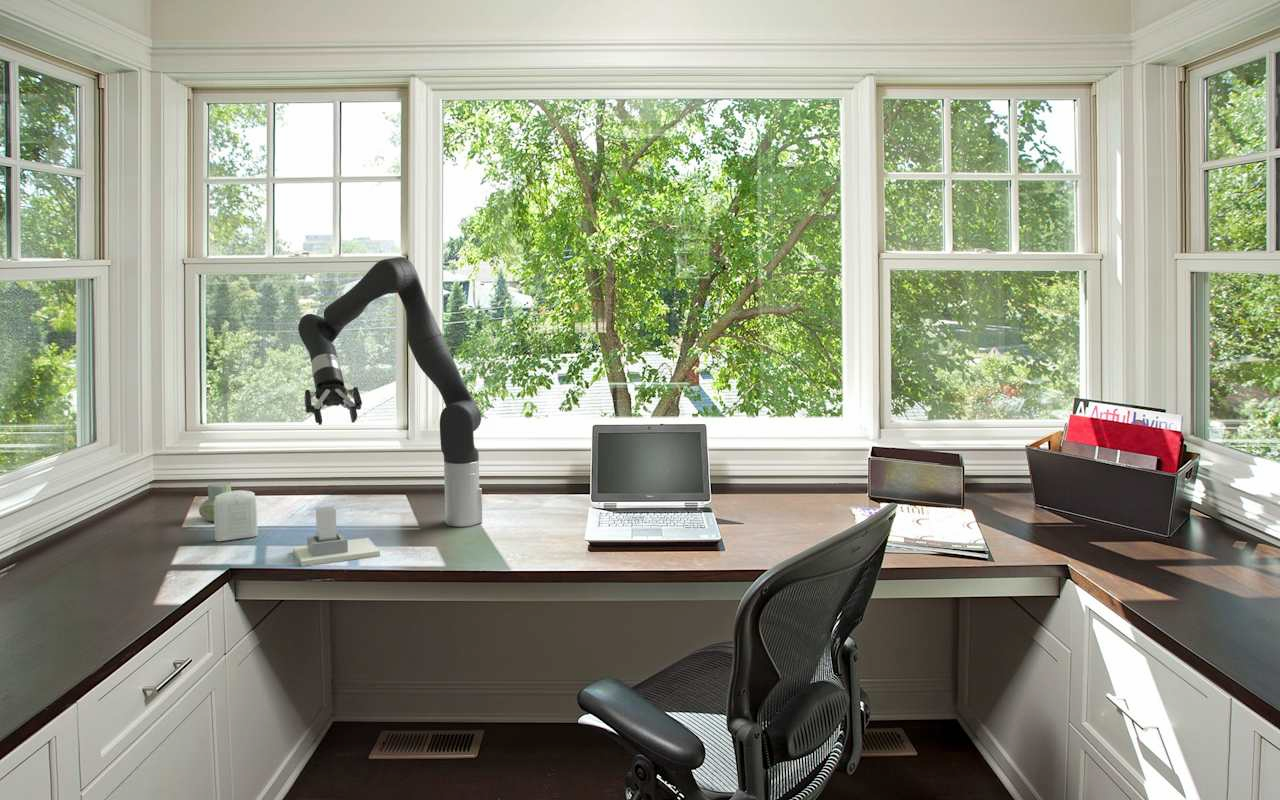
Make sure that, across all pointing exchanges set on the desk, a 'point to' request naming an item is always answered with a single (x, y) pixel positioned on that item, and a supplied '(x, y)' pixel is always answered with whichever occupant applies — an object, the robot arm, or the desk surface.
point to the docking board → (334, 550)
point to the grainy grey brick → (326, 524)
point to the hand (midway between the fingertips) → (337, 421)
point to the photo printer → (235, 515)
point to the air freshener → (208, 506)
